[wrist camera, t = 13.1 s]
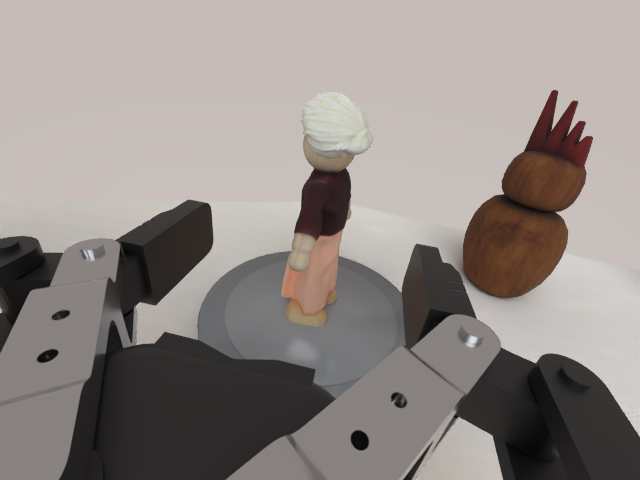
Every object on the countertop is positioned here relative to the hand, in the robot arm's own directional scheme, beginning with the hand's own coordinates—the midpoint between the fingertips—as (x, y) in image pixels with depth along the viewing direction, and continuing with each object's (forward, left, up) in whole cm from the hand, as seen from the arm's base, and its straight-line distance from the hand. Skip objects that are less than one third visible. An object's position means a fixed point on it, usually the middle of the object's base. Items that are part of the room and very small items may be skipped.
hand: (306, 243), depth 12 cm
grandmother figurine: (0, +5, -8) cm, 9 cm away
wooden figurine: (+14, +14, -9) cm, 21 cm away
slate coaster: (0, +5, -8) cm, 10 cm away
